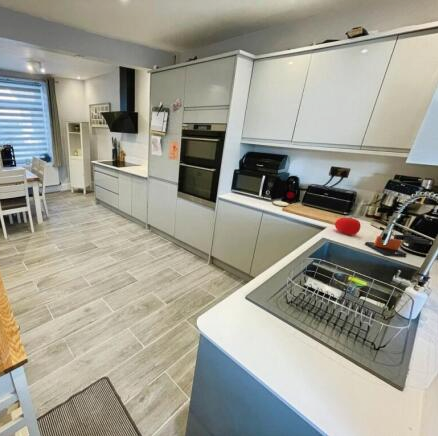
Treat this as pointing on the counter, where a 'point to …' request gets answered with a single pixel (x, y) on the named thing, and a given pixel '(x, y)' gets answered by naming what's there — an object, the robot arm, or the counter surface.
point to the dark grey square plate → (386, 250)
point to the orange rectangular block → (390, 245)
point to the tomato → (348, 225)
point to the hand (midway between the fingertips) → (395, 236)
